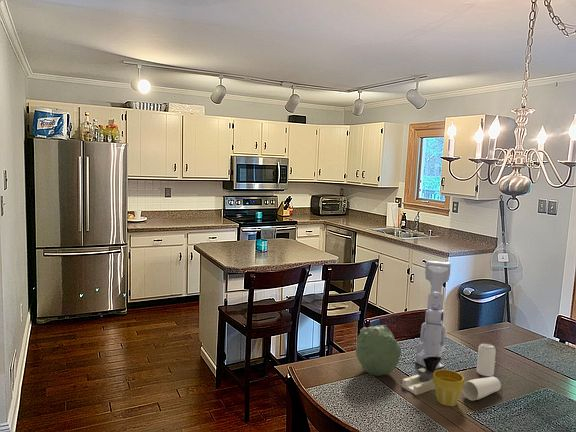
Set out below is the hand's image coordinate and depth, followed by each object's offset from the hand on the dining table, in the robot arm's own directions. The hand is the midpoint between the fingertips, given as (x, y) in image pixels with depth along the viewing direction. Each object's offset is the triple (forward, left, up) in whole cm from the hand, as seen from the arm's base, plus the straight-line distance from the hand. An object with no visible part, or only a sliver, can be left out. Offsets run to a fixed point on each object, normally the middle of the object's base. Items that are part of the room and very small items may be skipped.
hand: (430, 374), depth 170 cm
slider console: (0, -4, -4) cm, 5 cm away
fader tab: (0, -3, -2) cm, 4 cm away
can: (+5, +28, -4) cm, 29 cm away
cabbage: (-16, -12, -4) cm, 21 cm away
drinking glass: (+15, +18, -1) cm, 24 cm away
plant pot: (+12, -5, -4) cm, 13 cm away
